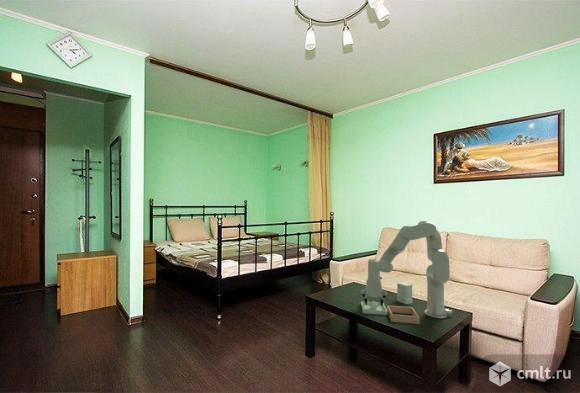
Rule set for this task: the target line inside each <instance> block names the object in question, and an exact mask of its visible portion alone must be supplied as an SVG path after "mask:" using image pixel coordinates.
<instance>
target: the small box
mask: <svg viewBox="0 0 580 393" xmlns="http://www.w3.org/2000/svg"><path fill="white" fill-rule="evenodd" d="M396 286H397V289H396V290H397V291H396V292H397V294H396V296H397V297H396V298H397V302H399V303H403V304H405V305H410V304H412V303H413V284H412V283H411V284H410V283H407V282H404V281H402V282H397V284H396Z"/></svg>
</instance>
